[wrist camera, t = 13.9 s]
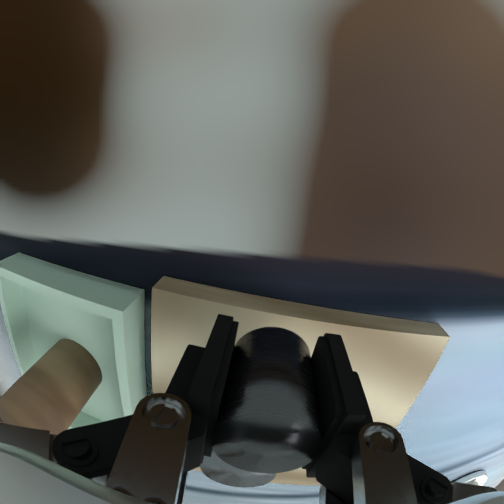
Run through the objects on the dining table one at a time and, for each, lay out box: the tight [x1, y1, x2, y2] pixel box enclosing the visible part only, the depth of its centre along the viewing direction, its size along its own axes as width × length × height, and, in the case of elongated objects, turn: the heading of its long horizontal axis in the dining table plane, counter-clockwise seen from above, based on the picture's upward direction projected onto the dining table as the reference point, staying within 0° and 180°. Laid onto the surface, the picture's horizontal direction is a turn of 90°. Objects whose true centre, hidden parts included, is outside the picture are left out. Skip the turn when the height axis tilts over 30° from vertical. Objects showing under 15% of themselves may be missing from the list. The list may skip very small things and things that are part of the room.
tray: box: [0, 252, 147, 429], centre depth 15 cm, size 13×10×2 cm
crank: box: [200, 327, 322, 487], centre depth 10 cm, size 11×4×6 cm, turn 170°
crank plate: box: [151, 276, 450, 485], centre depth 15 cm, size 15×15×2 cm
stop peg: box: [0, 339, 102, 435], centre depth 12 cm, size 4×4×7 cm
